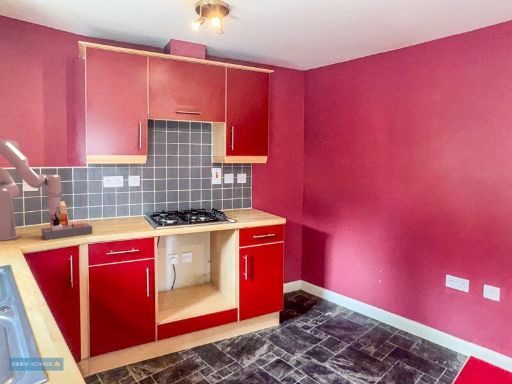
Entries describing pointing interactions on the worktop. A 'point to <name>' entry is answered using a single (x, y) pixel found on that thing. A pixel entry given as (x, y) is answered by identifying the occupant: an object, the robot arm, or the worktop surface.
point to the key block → (66, 232)
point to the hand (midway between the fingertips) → (56, 225)
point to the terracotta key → (77, 224)
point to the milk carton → (62, 215)
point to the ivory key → (56, 227)
